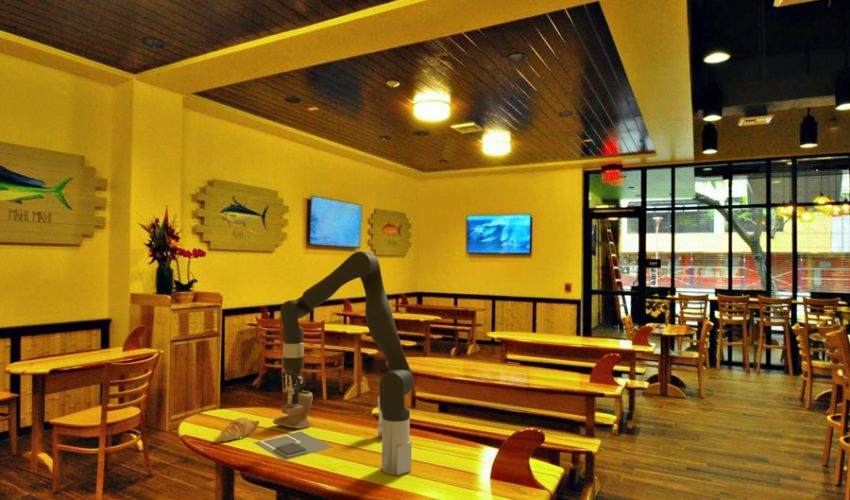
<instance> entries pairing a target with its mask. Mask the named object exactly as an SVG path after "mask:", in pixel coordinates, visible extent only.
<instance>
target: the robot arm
mask: <svg viewBox="0 0 850 500" xmlns="http://www.w3.org/2000/svg"><path fill="white" fill-rule="evenodd" d="M358 278H360V280H361V283H362V286H363V289H364V294H365V304H364V305H365V307H364V308H365V310H364V311H365V312H364V315H365V320H366V324H367V327H368V332H369V334H370V337H371V338H372V340H373V342H374V343H375V344H376V346H377V347H378V349H379V350H380V351H381V352H382V354H383V356H384V358H385V360H386V363H387V367H388V371H386V372H384V373H383V374H382V376H381V377H380V380H379V388H378V389H379V392H378V393H379V394H378V395H380V409H381V412H382V437H381V471H382V472H383V473H384V474H387V475H392V476H394V475H395V476H397V477H398V476H400V475H404V474H406V473H409V472H411V471H412V442H411V441H410V433H411V432H410V429H411V428H410V427H411V426H410V424H411V421H410V418H411V414H410V413H411V412H410V408H409V407H407V406H405V396H406V395H408V394H410V393H411V392H412V390H413V388H414V385H415V383H414V382H415V380H414V375H413V373H412V370H411V367H410V365H409V363H408V361H407V358H406V355H405V353H404V350H403V346H402V343H401V340H400V336H399V334H398V330H397V327H396V323H395V318H394V316H393V312H392V309H391V305H390V302H389V300H388V296H387V293H386V290H385V287H384V281H383V277H382V271H381V265H380V262H379V260H378V258H377V256H376V255H374V254H373V253H372V252H367V251H362V250H361V251H360V250H359V251H356V252H353V253H352V254H351V255H349V256H348V257H347V258H346V259H345V260H344V261H343V262H342V263H341V264H340V265H339V266H338V267H337V268H335V269H334V270H333V271H332V272H330V273H329V274H327V276H325V277H324V278H322V279H321V280H320V281H318V282H316V283H315V284H313V285H312V286H310V287H309V288H307V289H306V290H305V291H303V293H302V296H300V297H298V298H297V299H292V300H290V299H289V300H287V301H284V302H283V304H281V307H280V312H279V313H280V314H279V315H280V321H281V326H282V329H283V345H282V346H283V347H282V363H281V364H282V369H283V370H284V371H285V372H281V374H280V375H281V381H282V386H283V388H282V389H284V390H285V393H286V402H287V403H288V386H289V385H290V387H291V388H292V404H293V405H295V404H298V397H299V393H300V392H302V390H303V391H304V385H305V381H306V378H305V376H304V377H303V376H301V375H302V373H301V370H302V369H303V368H305V363H304V361H305V346H304V339H305V338H304V337H305V336H304V334H305V333H304V327H302V326H300V324H299V319H301V318H304V317H306V316H307V315H308V314H310V313H311V312H312V311H313V310H314V309H315V308H316V307H318V306H320V305H322V304H323V303H324V302H326V301H328V300H329V299H330V298H331V297H333V296H334V295H335V294H336V292H337V291H338V290H339V289H341V288H342V287H343V286H344V285H346V284H347V283H349V282H352V281H353V280H355V279H358ZM293 384H296V385H293Z"/></svg>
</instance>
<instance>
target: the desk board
mask: <svg viewBox="0 0 850 500" xmlns="http://www.w3.org/2000/svg"><path fill="white" fill-rule="evenodd" d="M253 444H255V445H256V446H259V447H260V448H262V449H263V450H265V451H267V452H268V453H270V454H271V455H274V456H275V457H277V458H279V460H282V461H289V460H291V459H295V458H299V457H302V456H306V455H310V454H314V453H317V452H321V451H324V450H328V449H332V448H333V446H332V445H330V444H328V443H326V442H324V441H322V440H319V439H317V438H316V437H313V436H312V435H309V434H307V433H305V432H303V431H297V432H293V433H287V434H284V435H279V436H275V437H271V438H267V439H263V440H260V441H258V440H257V441H256V442H253Z"/></svg>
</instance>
